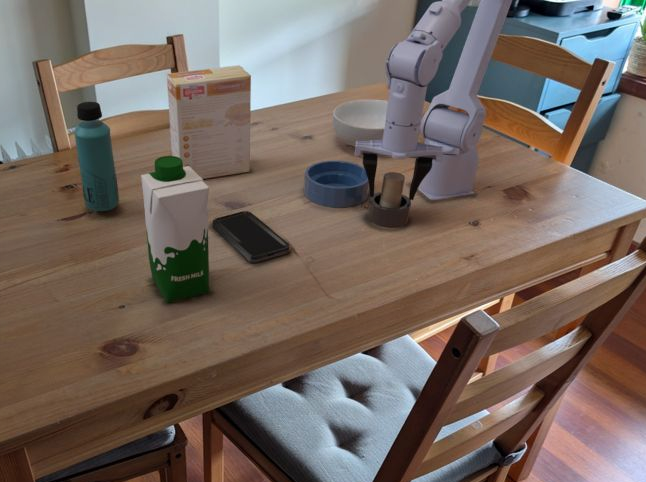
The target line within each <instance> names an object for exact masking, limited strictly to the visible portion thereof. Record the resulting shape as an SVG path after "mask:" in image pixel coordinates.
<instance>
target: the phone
mask: <svg viewBox="0 0 646 482" xmlns="http://www.w3.org/2000/svg"><path fill="white" fill-rule="evenodd" d="M212 228H213V229H214V230H215V231H216V232H217V233H218V234H219V235H220V236H221V237H222V238H223V239H224V240H225V241H227V242H228V243H229V244H230V246H231V247H234V249H235V250H236V251H237V252H238V253H240V254H241V255H242V256H243V257H244V259H246V260H247V261H248V262H250V263H253V264H254V263H255V264H256V263H260V262H263V261H266V260H270V259H274V258H278V257H281V256H285V255H288V254H289V253H290V244H289V243H288V242H287V241H286V240H285V239H284V238H282V236H280V235H279V234H278V233H277V232H275V231H274V230H273V229H271V228H270V227H269V225H267V224H266V223H264V222H263V221H262V220H261V219H259V218H258V217H257V216H256V215H255V214H254V213H253V212H251V211H248V210H242V211H238V212H234V213H231V214H227V215H223V216H220V217H216V218H213V219H212Z"/></svg>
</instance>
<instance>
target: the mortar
mask: <svg viewBox="0 0 646 482" xmlns="http://www.w3.org/2000/svg"><path fill="white" fill-rule="evenodd" d="M380 198H381V191H377V192H375V193H374V196H373V197H370V196H369V201H368V209H367V219H368V221H369V222H370V223H372V224H373V225H375V226H378V227H382V228H389V229H392V228H393V229H394V228H400V227H404V226H405V225H407V223H408V222H409V219H410V214H411V208H412V200H409V196H407V195H405V194H403V193H402V198H401V204H400V208H386V207H382V206H380Z"/></svg>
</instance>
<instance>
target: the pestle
mask: <svg viewBox="0 0 646 482" xmlns="http://www.w3.org/2000/svg"><path fill="white" fill-rule="evenodd" d="M405 180H406V177H405V175H404V174H403V173H401V172H395V171H389V172H386V173H384V175H383V178H382V186H381V191H380V192H381V198H380V206H382V207H386V208H400V204H401V198H402V194H403V191H404V185H405Z"/></svg>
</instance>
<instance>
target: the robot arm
mask: <svg viewBox="0 0 646 482" xmlns="http://www.w3.org/2000/svg"><path fill="white" fill-rule="evenodd" d="M471 2H472V0H441V1H438V0H437V1H434V2H432V3H431V4H430V5H429V7H428V8H427V9H426V11H425V12H424V14H423V15H422V17H421V18H420V20H418V22H417V23H416V25H415V27H414V28H413V29H412V31H411V32H410V33H409V35H408V36H407V38H406V39H404V40H402V41H399V42H396V43H395V44H394V45H393V46H392V47H391V49H390V50H389V53H388V56H387V60H386V61H385V65H384V69H385V70H384V71H385V74H386V77H387V81H386V87H387V90H389V92H388V100H387V101H388V106H387V113H386V120H385V127H384V134H383V140H373V141H356V145H355V147H354V157H361V156H362V167H364V168H365V171H366V174H367V178H368V182H369V193H368V196H369V198H370V197H373V196H374V194H375V183H376V181H375V180H376V175H377V169H378V157H387V158H392V159H394V160H405V159H415V161H414V168H413V175H412V179H411V184H410V186H409V192H408V198H409V200H411V201H413V200H414V199H415V196H416V193H417V191H418V190H419V191H420V192H421V193H422V194H423V195H425V196H426V197H427V198H428V199H429V200H431V201H433V200H440V199H447V198H454V197H460V196H466V195H467V196H468V195H474V194H475V191H473V189H474V184H475V180H476V176H477V171H478V168H479V162H480V157H479V151H478V148H477V147H476V146H477V144H478V143H479V142H480V139H481V137H482V133H483V130H484V122H485V119H486V116H487V110H486V108H485V106H484V105H483V103H482V101H481V100H480V98H479V97H478V93H479V91H480V87H481V85H482V83H483V80H484V78H485V74H486V72H487V69H488V67H489V64H490V61H491V59H492V56H493V53H494V51H495V47H496V45H497V42H498V39H499V37H500V35H501V31H502V30H503V26H504V24H505V21H506V18H507V15H508V13H509V10H510V7H511V5H512V2H513V0H480V1H479V3H478V5H477V10H476V11H475V16H474V18H473V20H472V23H471V26H470V29H469V32H468V35H467V38H466V39H465V43H464V45H463V49H462V51H461V55H460V57H459V60H458V62H457V66H456V68H455V71H454V74H453V77H452V79H451V82H450V84H449V88H448V89H447V90H445V91H443V92H441V93H439V94H437V95H435V96H433V98H432V100H431V101H430V104H429V107H428V108H427V110H426V112H424V113H423V111H424V107H425V100H426V94H427V89H428V85H429V83H431V82H432V80H433V79H434V78H435V76H436V74H437V72H438V69H439V65H440V63H441V61H442V59H443V56H444V54H443V51H444V50H445V48H446V47H447V46H448V44H449V43H450V42H451V40H452V39H453V37H454V36H455V34H456V33H457V31H458V30H459V28H460V27H461V25H462V16H461V13H463V11H464V10H465V9H466V7H467V6H468V5H469V4H470V3H471ZM449 107H452V108H455V109H459V110H462V111H465V112H466V113H465V112H461V111H458V110H454V109H451V108H449ZM423 114H424V115H423ZM420 134H421V137H422V138H423V139H424V143H423V142H419V135H420Z"/></svg>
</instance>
